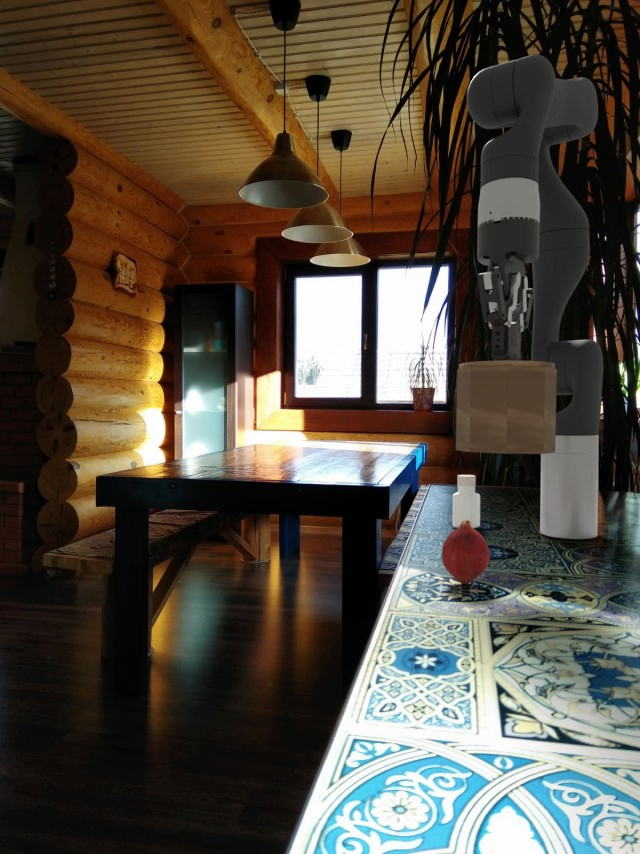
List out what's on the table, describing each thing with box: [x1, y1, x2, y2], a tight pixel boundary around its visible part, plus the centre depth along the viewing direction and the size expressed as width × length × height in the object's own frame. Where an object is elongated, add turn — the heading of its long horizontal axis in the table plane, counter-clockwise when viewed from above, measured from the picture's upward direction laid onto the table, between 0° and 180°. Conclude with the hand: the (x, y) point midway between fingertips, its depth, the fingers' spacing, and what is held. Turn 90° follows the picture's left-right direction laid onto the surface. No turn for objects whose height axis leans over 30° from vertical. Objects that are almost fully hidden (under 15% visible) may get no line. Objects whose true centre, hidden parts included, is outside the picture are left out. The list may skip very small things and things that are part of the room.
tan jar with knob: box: [455, 323, 557, 455], centre depth 82 cm, size 12×12×16 cm
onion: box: [441, 519, 491, 585], centre depth 80 cm, size 6×6×8 cm
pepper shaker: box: [451, 474, 481, 529], centre depth 118 cm, size 4×4×10 cm
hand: (505, 359), depth 82 cm, fingers closed on tan jar with knob, 3 cm apart
